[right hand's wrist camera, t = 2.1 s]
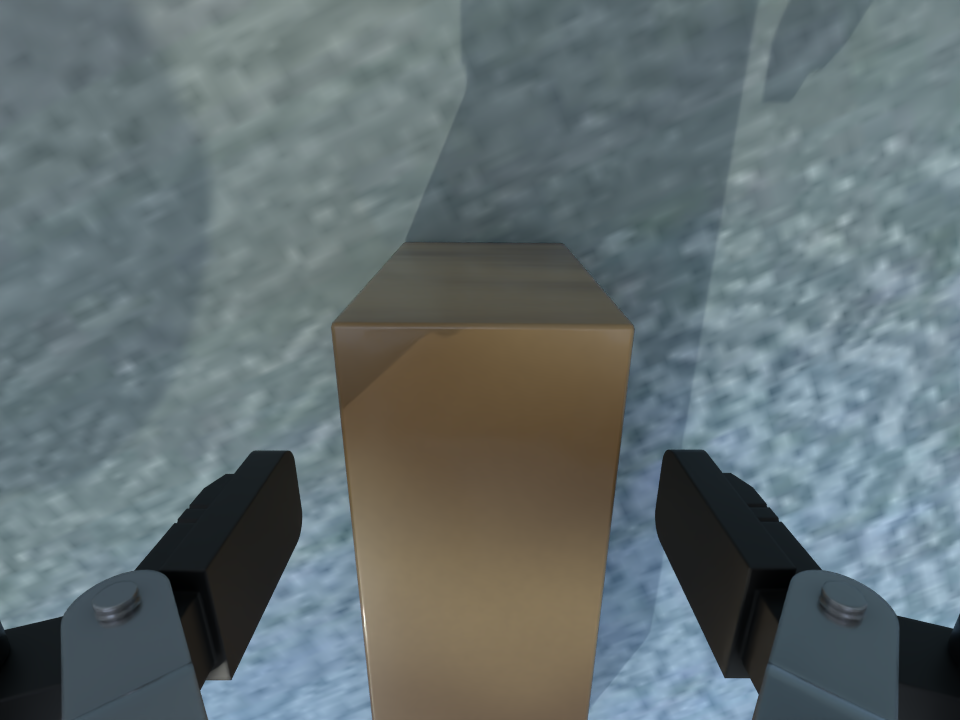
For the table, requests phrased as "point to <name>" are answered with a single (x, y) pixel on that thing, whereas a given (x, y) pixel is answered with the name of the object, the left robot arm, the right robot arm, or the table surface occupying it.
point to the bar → (481, 476)
